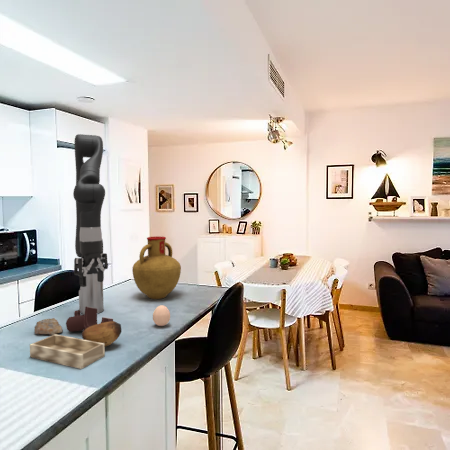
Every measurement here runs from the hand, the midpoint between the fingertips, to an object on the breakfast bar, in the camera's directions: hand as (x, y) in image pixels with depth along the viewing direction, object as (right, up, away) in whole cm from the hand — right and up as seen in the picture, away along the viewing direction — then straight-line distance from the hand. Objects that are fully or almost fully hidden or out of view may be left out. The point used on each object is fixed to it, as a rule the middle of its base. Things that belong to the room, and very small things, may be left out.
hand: (92, 284), depth 134 cm
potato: (+7, -19, -12) cm, 23 cm away
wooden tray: (0, -19, -20) cm, 28 cm away
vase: (+14, -15, +51) cm, 55 cm away
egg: (+24, -18, +8) cm, 31 cm away
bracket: (0, -18, +1) cm, 18 cm away
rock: (-16, -18, +2) cm, 25 cm away
